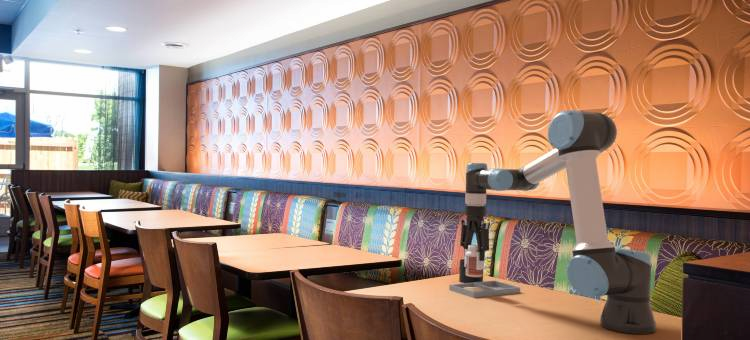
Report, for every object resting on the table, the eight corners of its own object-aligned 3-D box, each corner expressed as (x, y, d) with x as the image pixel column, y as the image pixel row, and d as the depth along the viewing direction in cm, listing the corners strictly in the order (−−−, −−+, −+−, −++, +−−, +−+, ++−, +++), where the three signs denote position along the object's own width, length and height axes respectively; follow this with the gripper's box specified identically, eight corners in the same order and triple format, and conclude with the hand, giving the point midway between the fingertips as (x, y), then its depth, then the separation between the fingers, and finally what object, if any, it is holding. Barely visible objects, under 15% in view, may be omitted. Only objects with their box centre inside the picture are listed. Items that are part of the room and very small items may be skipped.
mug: (468, 279, 244) (468, 257, 244) (487, 284, 234) (488, 261, 234) (450, 280, 239) (450, 258, 239) (469, 286, 229) (470, 263, 229)
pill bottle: (486, 276, 215) (486, 246, 214) (473, 278, 211) (474, 247, 211) (473, 273, 220) (474, 243, 219) (461, 275, 216) (462, 245, 216)
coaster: (488, 293, 214) (488, 290, 214) (471, 295, 210) (471, 292, 210) (474, 289, 220) (474, 286, 220) (458, 291, 217) (458, 287, 217)
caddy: (520, 294, 217) (520, 287, 217) (473, 299, 206) (473, 292, 206) (494, 286, 229) (494, 280, 229) (449, 291, 218) (449, 284, 218)
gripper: (501, 206, 208) (499, 271, 209) (467, 203, 225) (465, 263, 225) (484, 207, 205) (482, 273, 205) (451, 203, 221) (449, 264, 222)
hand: (473, 267), depth 215 cm, fingers closed on pill bottle, 6 cm apart
